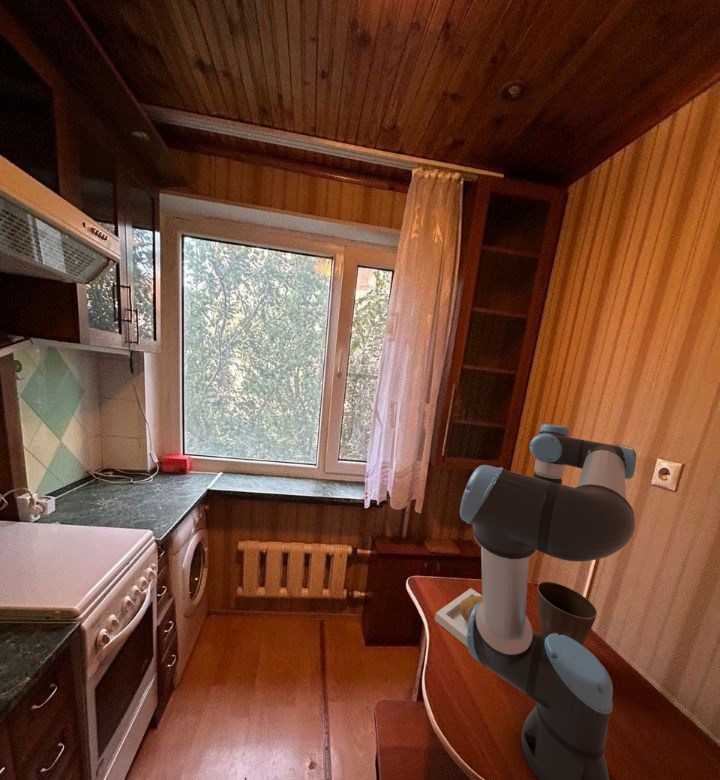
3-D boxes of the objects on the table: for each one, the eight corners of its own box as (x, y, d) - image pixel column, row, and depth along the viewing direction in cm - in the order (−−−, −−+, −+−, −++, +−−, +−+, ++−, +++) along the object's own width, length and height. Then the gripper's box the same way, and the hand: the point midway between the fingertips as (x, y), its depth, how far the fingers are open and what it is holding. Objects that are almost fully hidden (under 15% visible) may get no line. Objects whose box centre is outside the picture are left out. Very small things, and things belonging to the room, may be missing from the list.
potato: (507, 631, 95) (510, 607, 95) (471, 640, 90) (475, 614, 90) (484, 608, 105) (487, 586, 104) (451, 615, 100) (454, 592, 99)
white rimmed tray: (489, 664, 84) (490, 653, 84) (434, 620, 97) (436, 611, 97) (520, 628, 98) (522, 619, 98) (469, 594, 112) (470, 586, 112)
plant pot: (570, 634, 98) (578, 587, 98) (600, 679, 84) (609, 623, 83) (522, 624, 100) (529, 577, 100) (543, 665, 85) (551, 611, 85)
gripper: (601, 487, 86) (590, 559, 87) (511, 462, 105) (502, 521, 105) (595, 491, 81) (583, 568, 82) (501, 464, 100) (492, 526, 100)
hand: (537, 542), depth 94 cm, fingers open, 13 cm apart
